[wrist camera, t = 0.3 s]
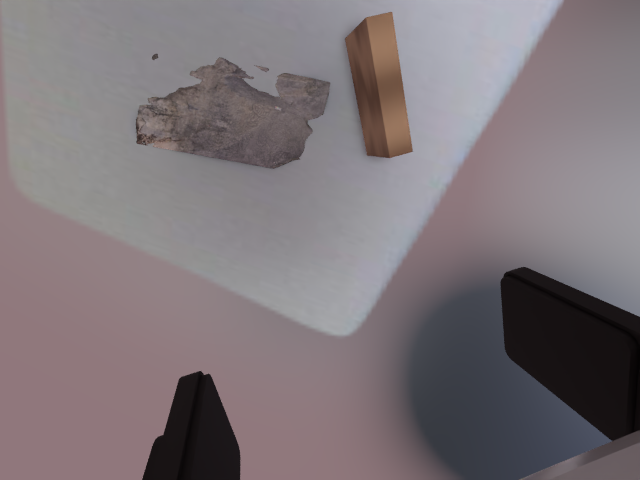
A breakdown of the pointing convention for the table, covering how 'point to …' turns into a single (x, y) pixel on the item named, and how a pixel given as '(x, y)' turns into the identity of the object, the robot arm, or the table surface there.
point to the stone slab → (234, 116)
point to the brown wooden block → (379, 86)
